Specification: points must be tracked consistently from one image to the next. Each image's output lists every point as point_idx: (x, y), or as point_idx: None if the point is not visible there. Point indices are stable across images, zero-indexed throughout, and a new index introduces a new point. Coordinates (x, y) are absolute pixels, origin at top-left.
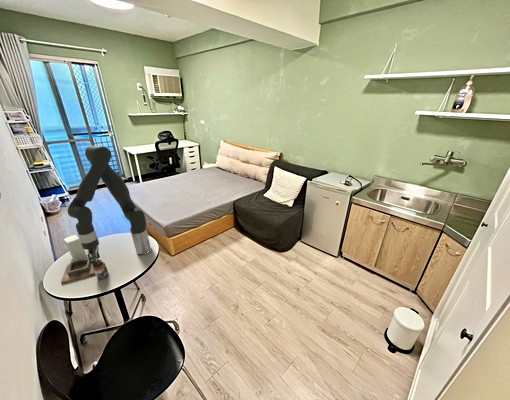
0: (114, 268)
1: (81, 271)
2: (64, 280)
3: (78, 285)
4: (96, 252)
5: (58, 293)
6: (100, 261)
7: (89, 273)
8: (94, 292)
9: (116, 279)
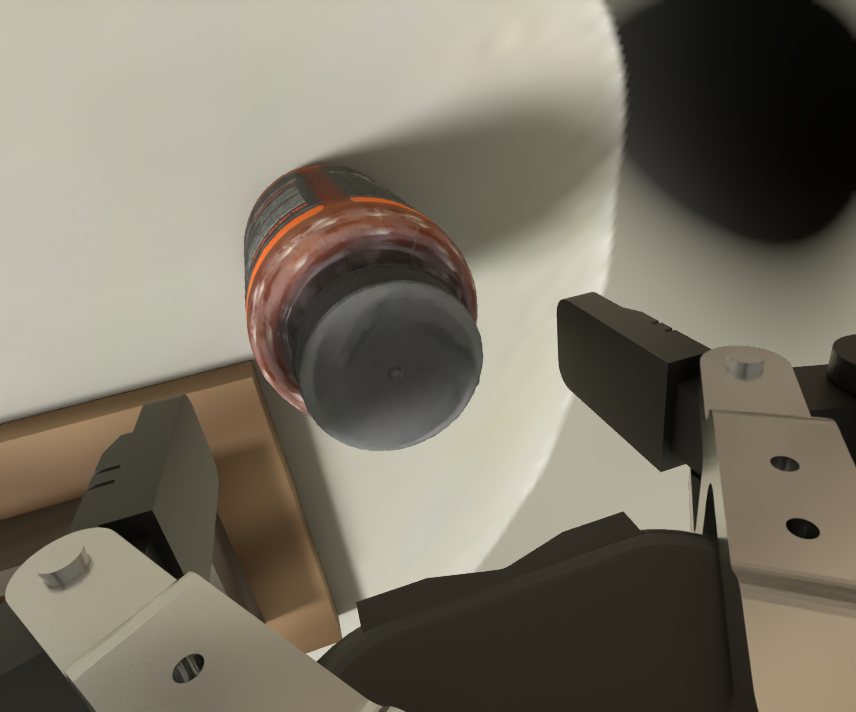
0: (140, 104)
1: (222, 550)
2: (321, 628)
3: (409, 467)
4: (778, 560)
5: None
6: (406, 303)
7: (255, 441)
8: (592, 256)
9: (459, 7)
